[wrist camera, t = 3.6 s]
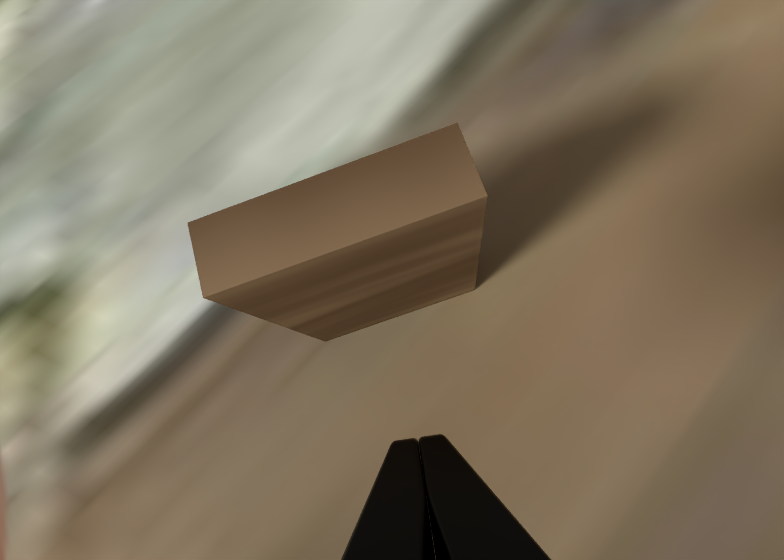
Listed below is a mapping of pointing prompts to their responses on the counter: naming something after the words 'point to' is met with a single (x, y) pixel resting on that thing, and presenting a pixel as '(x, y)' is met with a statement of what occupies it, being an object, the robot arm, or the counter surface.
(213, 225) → the walnut tile
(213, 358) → the counter surface
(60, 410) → the counter surface
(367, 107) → the counter surface
